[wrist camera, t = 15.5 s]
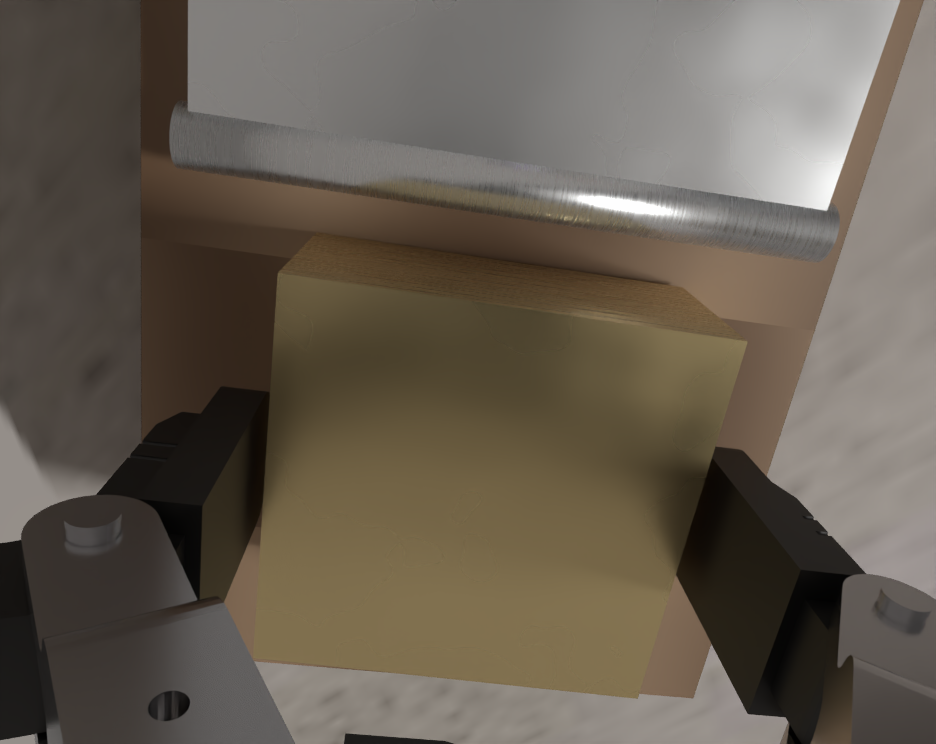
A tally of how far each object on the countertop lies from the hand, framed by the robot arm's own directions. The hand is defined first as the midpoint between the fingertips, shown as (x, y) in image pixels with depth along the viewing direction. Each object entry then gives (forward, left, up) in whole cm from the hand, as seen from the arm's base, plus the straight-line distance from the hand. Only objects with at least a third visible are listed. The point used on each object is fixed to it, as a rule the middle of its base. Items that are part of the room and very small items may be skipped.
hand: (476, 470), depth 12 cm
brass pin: (0, 0, -7) cm, 7 cm away
